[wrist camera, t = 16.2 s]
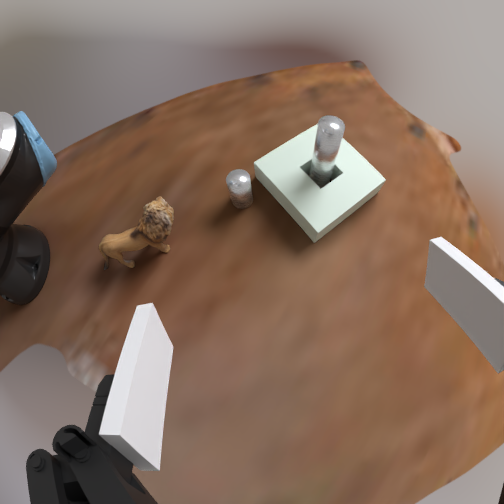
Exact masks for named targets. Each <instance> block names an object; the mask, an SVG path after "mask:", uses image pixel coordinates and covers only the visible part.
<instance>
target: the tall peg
mask: <svg viewBox="0 0 504 504" xmlns="http://www.w3.org/2000/svg"><path fill="white" fill-rule="evenodd" d="M344 130H345V125H344V123H343V121H342V120H340V119H339V118H337V117H335V116H324V117H322V118H320V120H319V122H318V128H317V134H316V140H315V146H314V152H313V157H312V163H311V169H310V174H309V177H310V178H311V179H312V180H313V181H314V182H315V183H316V184H317V185H318V186H319V187H320V189H321V188H323V187H324V186H326V185H327V184H328V183H329V182H330V178H331V175H332V172H333V168H334V165H335V161H336V158H337V154H338V151H339V148H340V144H341V140H342V137H343V133H344Z"/></svg>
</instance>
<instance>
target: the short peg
mask: <svg viewBox="0 0 504 504" xmlns="http://www.w3.org/2000/svg"><path fill="white" fill-rule="evenodd" d="M226 182H227V186H228V189H229V193H230V196H231V200H232V203H233V205H234V206H235V207H236V208H239V209H245V208H248V207H249V206H250V205H251V204H252V202H253V196H252V189H251V182H250V176H249V174H248V173H247V172H246V171H244V170H241V169H237V170H233V171H231V172H230V173H229V174H228V176H227V178H226Z"/></svg>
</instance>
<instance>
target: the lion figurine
mask: <svg viewBox="0 0 504 504" xmlns="http://www.w3.org/2000/svg"><path fill="white" fill-rule="evenodd" d="M143 208H144V210H145V211H144V213H143V217H142V218H141V219H140V220H139V224H138V225H137V227H134V228H131V229H129V230H127V231H125V232H123V233H120V234H109V235H106V236H105V237H104V238H103V239H102V242H101V243H100V245H99V250H100V252H101V254H102V255H103V257H104V259H105V266H104V270H106V269H107V268H108V266H109V262H108V258H107V255H108V256H109V257H111V258H114V259H117V260H118V261H119V262H120V263H122V264H124V265H126V266H128V267H130V268H133V267H134V266H135V262H134V261H133V260H130V261H127V260H124V258H123V255H122V252H123V251H136V250H140V249H142V248H144V247H146V246H148V245H151V246H153V247H156V248H158V249H159V250H161V251H162V252H165V253H168V252H169V251H170V247H169V245H165V244H163V243H162V241H165V240H166V238H167V236H169V235H170V232H171V226H172V223H173V221H174V220H173V219H174V211H173V208H171V207H170V206H169V205H168V204H167V202H165V200H164V199H163V198H162V197H157V198H156V201H152V202H151V203H149V204H146V205H145V206H144V207H143ZM106 254H107V255H106Z"/></svg>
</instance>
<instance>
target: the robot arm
mask: <svg viewBox="0 0 504 504" xmlns="http://www.w3.org/2000/svg"><path fill="white" fill-rule="evenodd" d="M56 167H57V161H56V158H55V157H54V155H53V154H52V152H51V151H50V149H49V148H48V146H47V145H46V143H45V142H44V141H43V139H42V138H41V136H40V135H39V133H38V132H37V130H36V129H35V127H34V126H33V124H32V123H31V121H30V120H29V119H28V117H27V116H26V115H25V113H24V112H22V111H21V112H18V113H17V114H14V116H13V117H12V116H11V115H9V114H8V113H6V112H0V295H1V296H2V297H3V298H4V299H5V300H7V301H9V302H11V303H15V304H19V305H22V304H26V303H28V302H30V301H31V300H33V299H34V298H35V297H36V296H37V294H38V293H39V292H40V290H41V288H42V286H43V284H44V282H45V280H46V277H47V273H48V269H49V263H50V250H49V244H48V241H47V239H46V237H45V235H44V234H43V233H42V232H41V231H39V230H38V229H36V228H34V227H32V226H30V225H18V224H12V223H13V222H14V221H15V220H16V218H17V217H18V216H19V214H20V213H21V212H22V211H23V210H24V208H25V207H26V206H27V205H28V203H29V202H30V201H31V200H32V199H33V198H34V196H35V195H36V194H37V193H38V192H39V191H40V189H41V188H42V187H44V186H45V184H46V182H47V180H48V179H49V178H50V177H51V175H52V174H53V173H54V172H55V170H56ZM424 287H425V288H426V289H427V290H428V291H429V292H430V293H431V295H432V296H433V297H434V298H435V299H436V300H437V301H438V302H439V303H440V304H441V305H442V307H443V308H444V309H445V310H446V311H447V312H448V313H449V314H450V316H451V317H452V318H453V319H454V320H455V321H456V322H457V324H458V325H459V326H460V327H461V328H462V329H463V331H464V332H465V333H466V334H467V335H468V336H469V338H470V339H471V340H472V341H473V342H474V344H475V345H476V346H477V347H478V349H479V350H480V351H481V352H482V354H483V355H484V356H485V357H486V359H487V360H488V361H489V362H490V364H491V365H492V366H493V368H494V369H495V370H496V372H497V373H500V372H501V371H503V370H504V282H503V281H501V280H499V279H497V278H495V279H494V278H493V277H492V276H490V275H489V274H488V273H487V272H486V271H484V270H483V269H482V268H481V267H480V266H478V265H477V264H476V263H475V262H473V261H472V260H471V259H470V258H468V257H467V256H466V255H465V254H463V253H462V252H461V251H459V250H458V249H457V248H455V247H454V246H453V245H452V244H450V243H449V242H448V241H446V240H445V239H443V238H442V237H439V238H435V239H431V240H430V242H429V253H428V263H427V271H426V279H425V286H424ZM172 354H173V345H172V343H171V341H170V339H169V337H168V335H167V333H166V331H165V329H164V327H163V325H162V322H161V320H160V318H159V316H158V314H157V312H156V309H155V307H154V305H153V303H149V304H144V305H138V306H137V308H136V311H135V314H134V316H133V319H132V322H131V325H130V328H129V331H128V334H127V337H126V340H125V343H124V346H123V349H122V352H121V356H120V359H119V362H118V365H117V369H116V372H115V374H114V375H106V376H105V377H104V378H103V380H102V381H101V382H100V384H99V385H98V389H97V392H96V395H95V396H96V398H94V402H93V406H92V409H91V412H90V415H89V419H88V423H87V426H86V429H85V432H84V431H83V430H81V428H79V427H77V426H75V425H67V426H65V427H63V428H61V429H60V430H59V431H58V432H57V433H56V435H55V437H54V439H53V444H52V445H53V450H54V451H55V452H56V453H57V454H58V455H53V456H52V455H51V454H50V453H49V452H47V451H46V450H43V449H37V450H35V451H33V452H32V453H31V454H30V455H29V457H28V459H27V463H26V471H27V479H28V488H29V495H30V502H31V504H158V503H157V502H156V501H155V500H154V498H153V497H152V496H151V495H150V494H149V492H148V491H147V490H146V489H145V487H144V486H143V485H142V483H141V482H140V481H139V479H138V478H137V477H136V475H134V474H133V473H132V468H133V465H134V466H136V467H137V468H138V469H139V470H146V471H160V458H161V447H162V436H163V426H164V416H165V407H166V399H167V391H168V383H169V375H170V368H171V361H172ZM498 504H504V484H503V488H502V492H501V496H500V499H499V503H498Z"/></svg>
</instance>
